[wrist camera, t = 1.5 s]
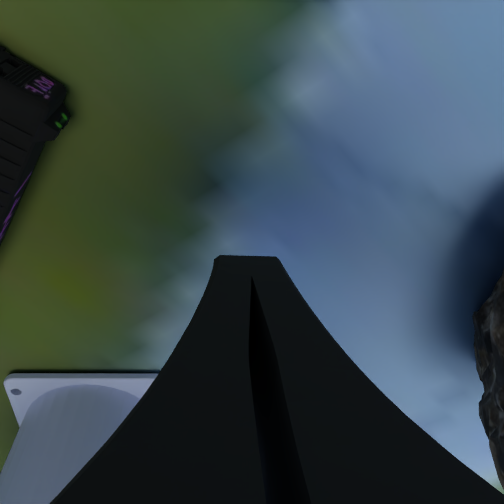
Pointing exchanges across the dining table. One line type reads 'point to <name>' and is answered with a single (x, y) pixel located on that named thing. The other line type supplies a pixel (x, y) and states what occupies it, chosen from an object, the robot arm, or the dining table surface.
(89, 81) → the dining table surface
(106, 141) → the dining table surface
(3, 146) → the handgun
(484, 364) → the rock
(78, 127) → the dining table surface
